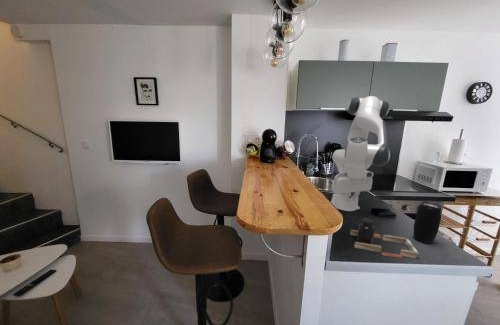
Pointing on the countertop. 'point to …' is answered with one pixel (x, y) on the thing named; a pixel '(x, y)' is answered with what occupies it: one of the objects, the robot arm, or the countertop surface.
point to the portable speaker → (427, 222)
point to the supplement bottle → (366, 231)
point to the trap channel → (412, 253)
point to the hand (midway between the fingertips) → (350, 200)
